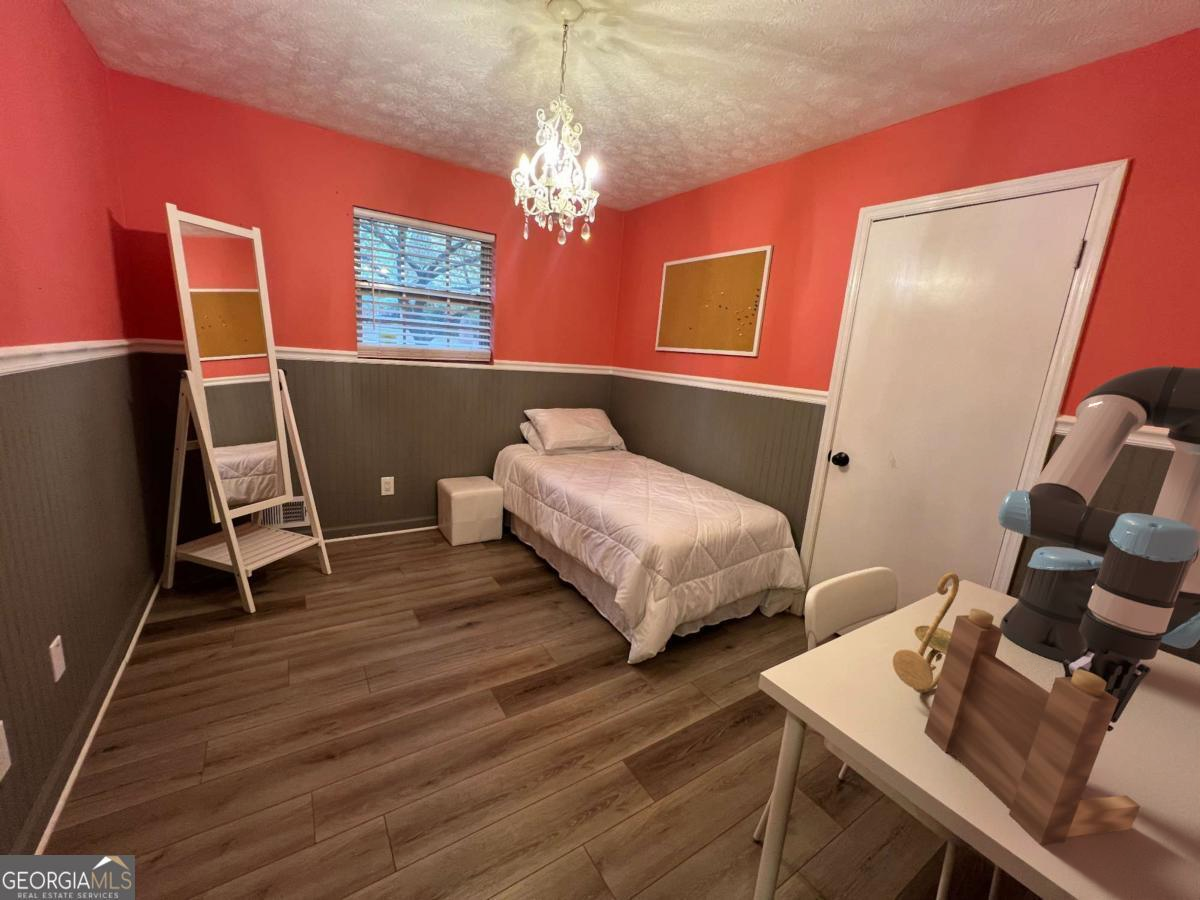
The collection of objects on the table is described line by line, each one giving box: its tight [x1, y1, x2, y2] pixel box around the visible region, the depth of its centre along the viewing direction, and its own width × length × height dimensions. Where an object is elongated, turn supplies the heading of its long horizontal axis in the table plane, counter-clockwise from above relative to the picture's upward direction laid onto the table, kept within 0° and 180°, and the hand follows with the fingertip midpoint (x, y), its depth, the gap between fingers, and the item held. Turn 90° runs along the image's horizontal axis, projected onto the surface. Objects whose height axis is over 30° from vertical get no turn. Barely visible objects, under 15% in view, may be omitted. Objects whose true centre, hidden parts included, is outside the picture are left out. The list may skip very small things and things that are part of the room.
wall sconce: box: [892, 572, 960, 694], centre depth 84 cm, size 14×10×25 cm
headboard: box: [924, 608, 1141, 846], centre depth 67 cm, size 16×18×24 cm
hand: (1073, 757), depth 70 cm, fingers closed
